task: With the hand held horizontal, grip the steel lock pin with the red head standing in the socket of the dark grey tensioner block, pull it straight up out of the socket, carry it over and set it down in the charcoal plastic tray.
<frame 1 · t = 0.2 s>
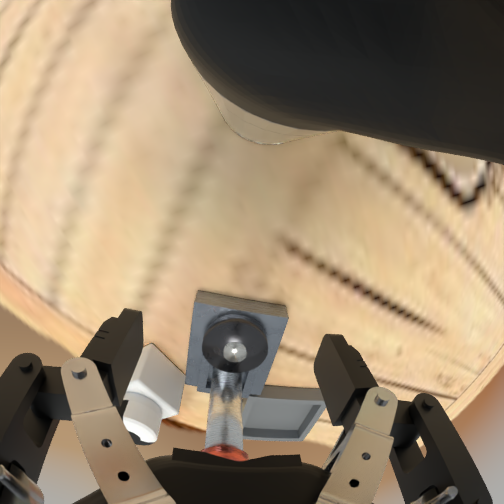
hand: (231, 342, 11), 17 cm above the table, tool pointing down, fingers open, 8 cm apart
tray: (277, 410, 38), on the table
tensioner block: (231, 342, 33), on the table
lock pin: (227, 373, 31), point 2 cm above the table, touching tensioner block
medicine bottle: (152, 367, 34), on the table
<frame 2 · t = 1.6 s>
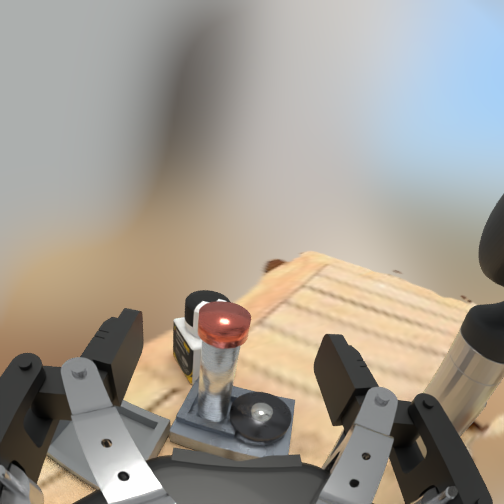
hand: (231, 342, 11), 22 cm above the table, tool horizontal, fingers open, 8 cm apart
tray: (104, 444, 21), on the table
tensioner block: (234, 427, 29), on the table
lock pin: (212, 410, 28), point 2 cm above the table, touching tensioner block
medicine bottle: (202, 365, 39), on the table
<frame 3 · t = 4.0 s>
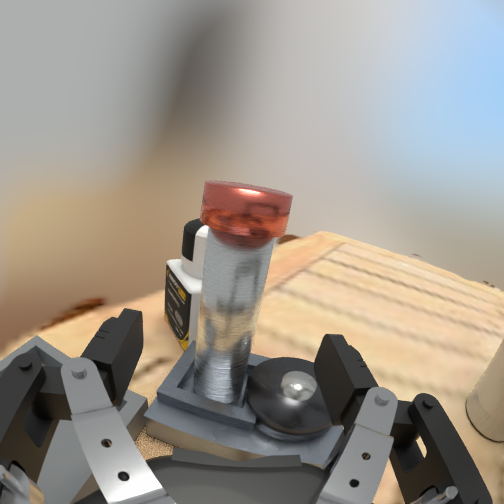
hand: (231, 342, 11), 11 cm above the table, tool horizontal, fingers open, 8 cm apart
tray: (45, 429, 12), on the table
tensioner block: (251, 416, 19), on the table
lock pin: (217, 386, 18), point 2 cm above the table, touching tensioner block
medicine bottle: (203, 331, 29), on the table
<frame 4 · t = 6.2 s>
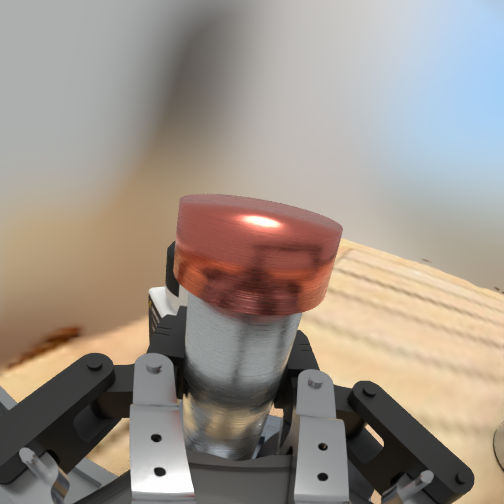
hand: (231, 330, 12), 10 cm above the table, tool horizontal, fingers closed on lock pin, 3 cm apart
tray: (16, 498, 5), on the table
tensioner block: (258, 489, 12), on the table
lock pin: (215, 463, 12), point 3 cm above the table, touching gripper, tensioner block
medicine bottle: (197, 372, 23), on the table
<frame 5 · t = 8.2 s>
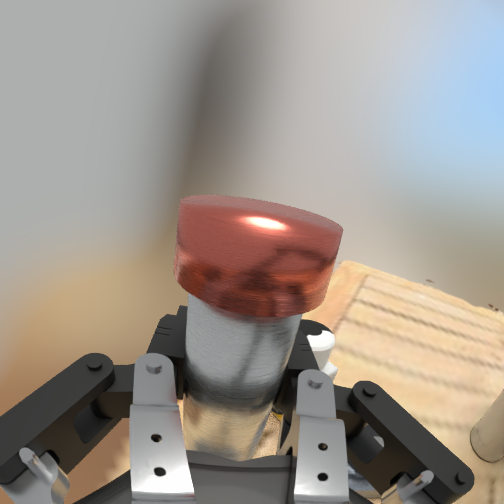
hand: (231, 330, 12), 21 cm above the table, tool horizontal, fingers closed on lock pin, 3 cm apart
tensioner block: (339, 464, 23), on the table
lock pin: (215, 463, 12), point 13 cm above the table, touching gripper
medicine bottle: (286, 399, 34), on the table
when the fingers open (10 cm above the table, at t = 10.7 s): lock pin drops 1 cm, resting on tray.
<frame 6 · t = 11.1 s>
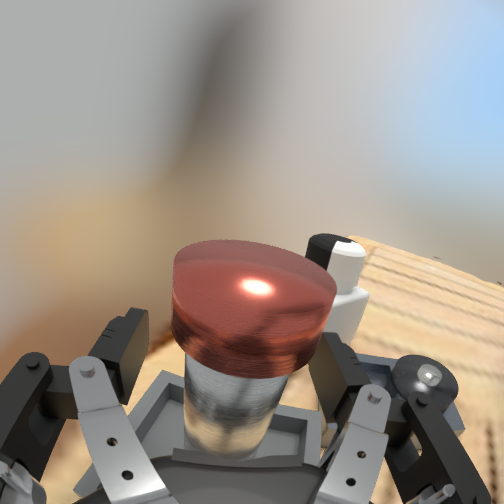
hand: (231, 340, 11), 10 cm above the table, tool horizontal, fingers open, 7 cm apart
tray: (212, 476, 13), on the table
tensioner block: (384, 409, 20), on the table
lock pin: (214, 473, 12), point 1 cm above the table, touching tray
medicine bottle: (310, 340, 30), on the table
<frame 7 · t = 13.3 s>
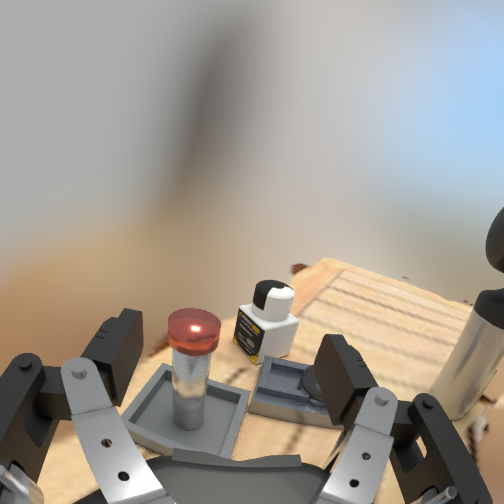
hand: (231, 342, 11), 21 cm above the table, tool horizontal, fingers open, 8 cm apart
tray: (187, 421, 27), on the table
tensioner block: (300, 397, 34), on the table
lock pin: (188, 418, 27), point 1 cm above the table, touching tray
medicine bottle: (260, 349, 45), on the table
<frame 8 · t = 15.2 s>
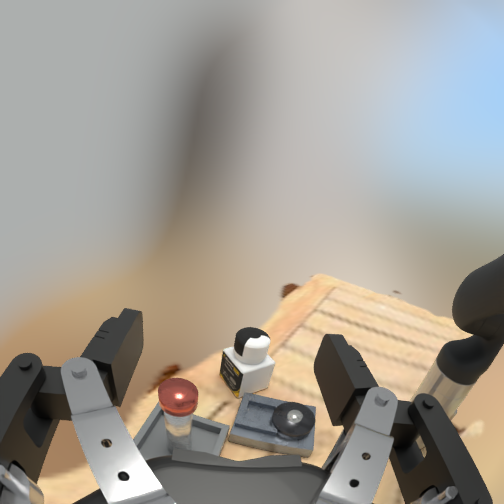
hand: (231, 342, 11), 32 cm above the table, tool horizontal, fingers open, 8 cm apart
tray: (179, 448, 32), on the table
tensioner block: (273, 428, 39), on the table
lock pin: (179, 447, 32), point 1 cm above the table, touching tray
medicine bottle: (243, 382, 50), on the table
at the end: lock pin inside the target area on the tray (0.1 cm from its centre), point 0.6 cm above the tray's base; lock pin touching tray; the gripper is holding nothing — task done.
